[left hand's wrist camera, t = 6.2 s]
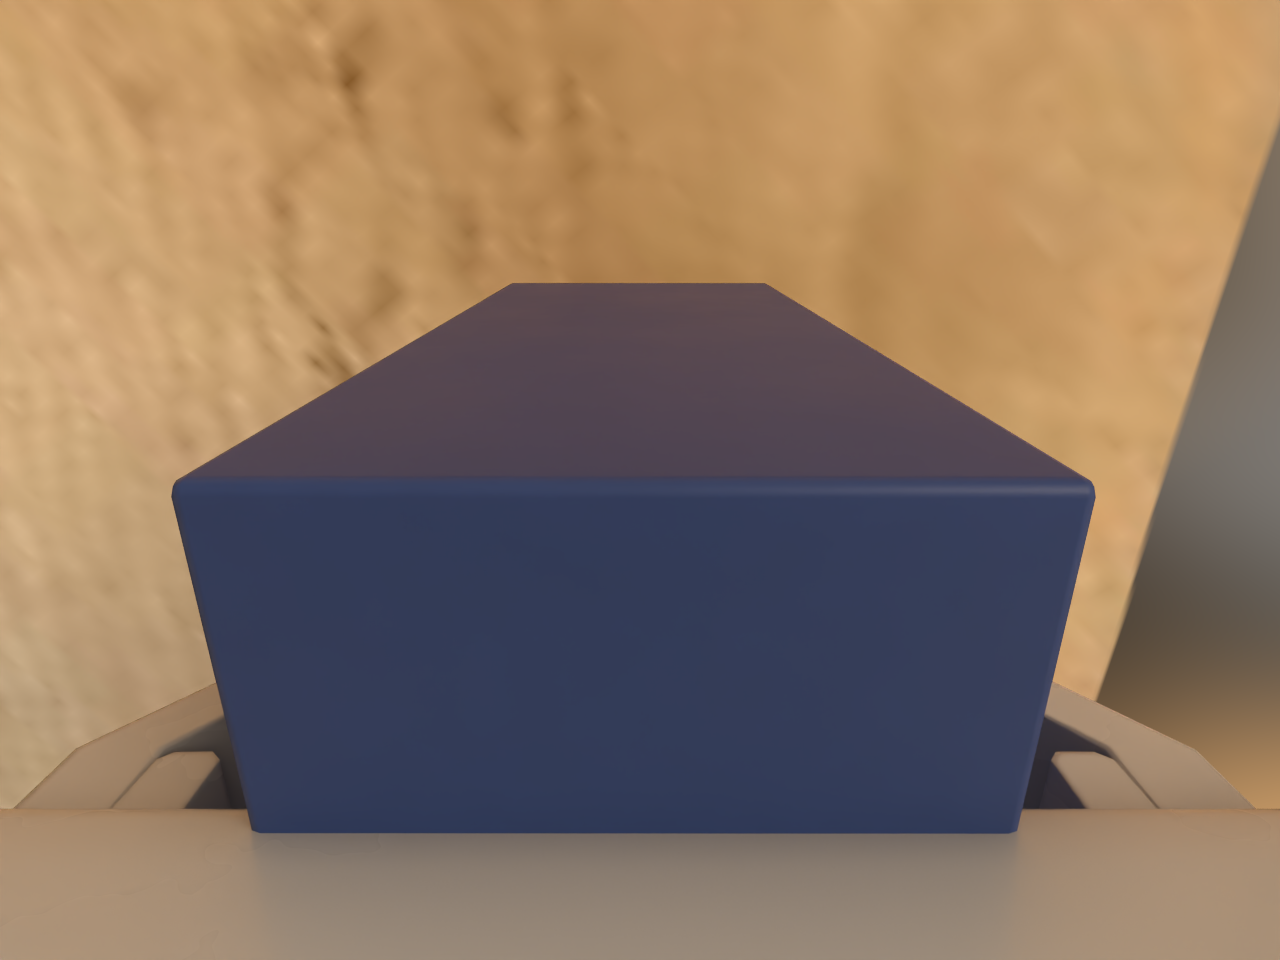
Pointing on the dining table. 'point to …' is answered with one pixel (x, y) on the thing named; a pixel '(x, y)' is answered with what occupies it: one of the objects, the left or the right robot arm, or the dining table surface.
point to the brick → (634, 581)
